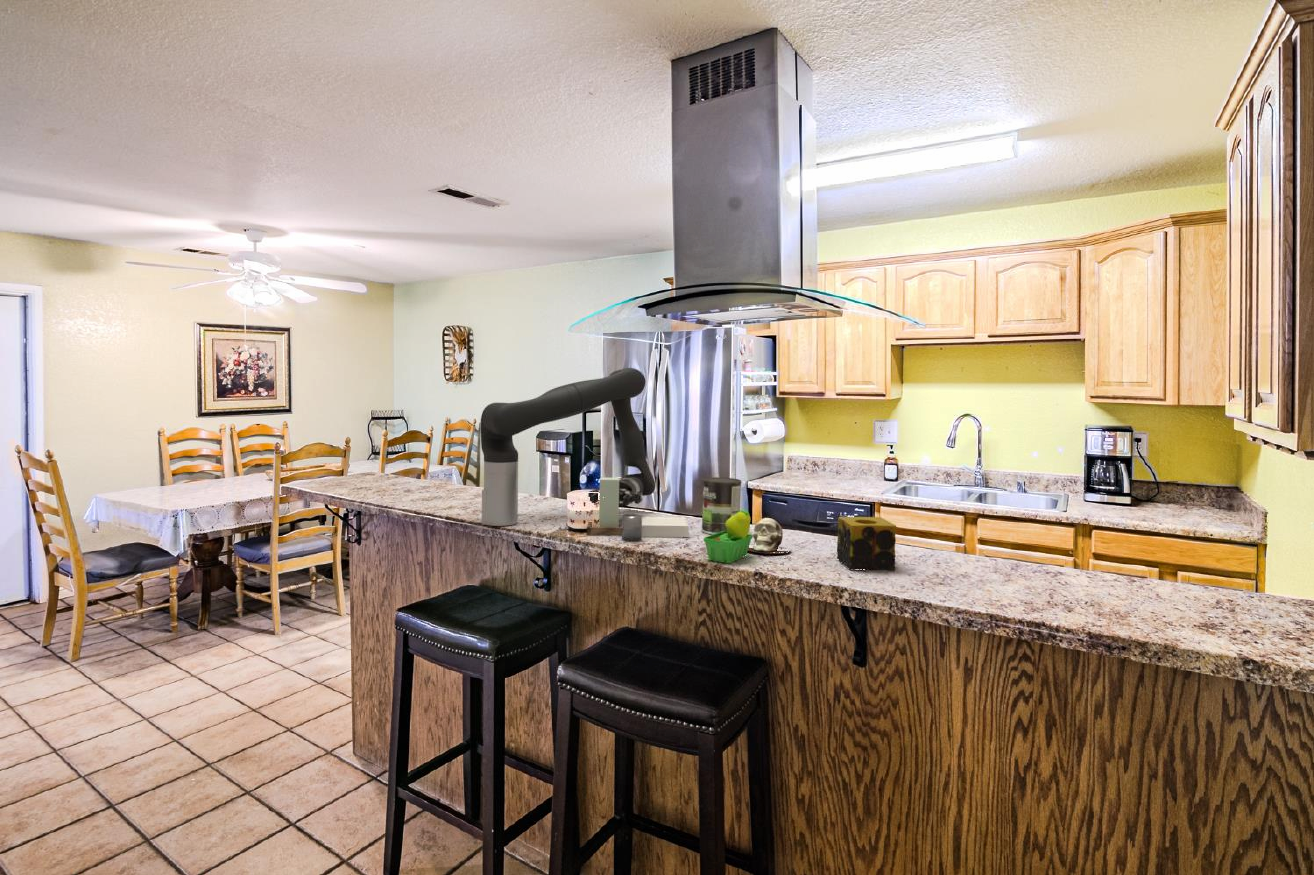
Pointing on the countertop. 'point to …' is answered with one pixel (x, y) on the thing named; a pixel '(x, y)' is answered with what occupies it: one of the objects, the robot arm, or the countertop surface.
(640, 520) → the grey cylinder
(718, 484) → the coffee can
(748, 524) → the fruit basket
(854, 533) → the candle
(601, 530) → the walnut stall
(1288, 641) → the countertop surface
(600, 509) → the sage block
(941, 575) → the countertop surface
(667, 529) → the white platform
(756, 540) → the skull
